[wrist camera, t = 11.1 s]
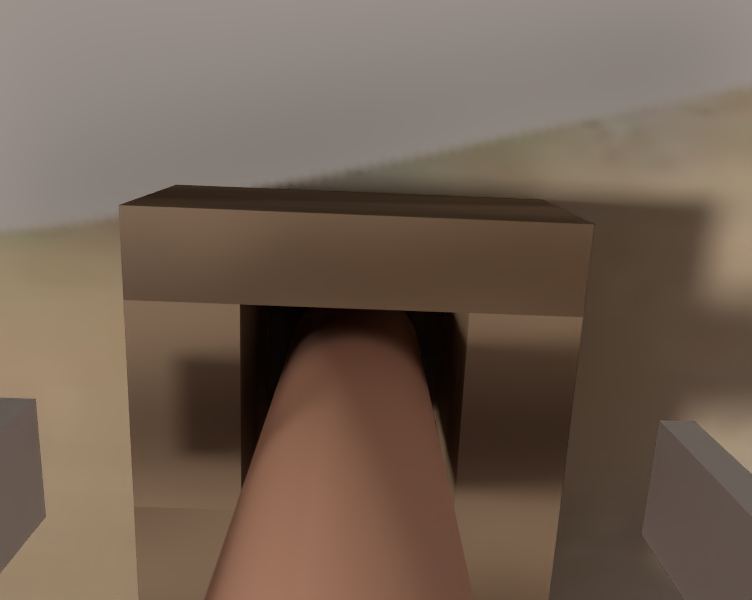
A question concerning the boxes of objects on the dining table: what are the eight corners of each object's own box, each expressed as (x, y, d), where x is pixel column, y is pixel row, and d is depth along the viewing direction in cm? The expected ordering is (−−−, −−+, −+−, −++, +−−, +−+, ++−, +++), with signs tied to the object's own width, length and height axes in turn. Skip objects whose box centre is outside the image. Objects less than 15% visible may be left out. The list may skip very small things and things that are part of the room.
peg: (293, 286, 22) (105, 714, 6) (421, 291, 22) (552, 725, 6) (292, 406, 23) (128, 1028, 7) (414, 410, 23) (511, 1033, 7)
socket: (176, 185, 21) (118, 205, 16) (542, 200, 21) (594, 224, 16) (189, 637, 25) (147, 762, 20) (496, 645, 25) (528, 771, 20)
